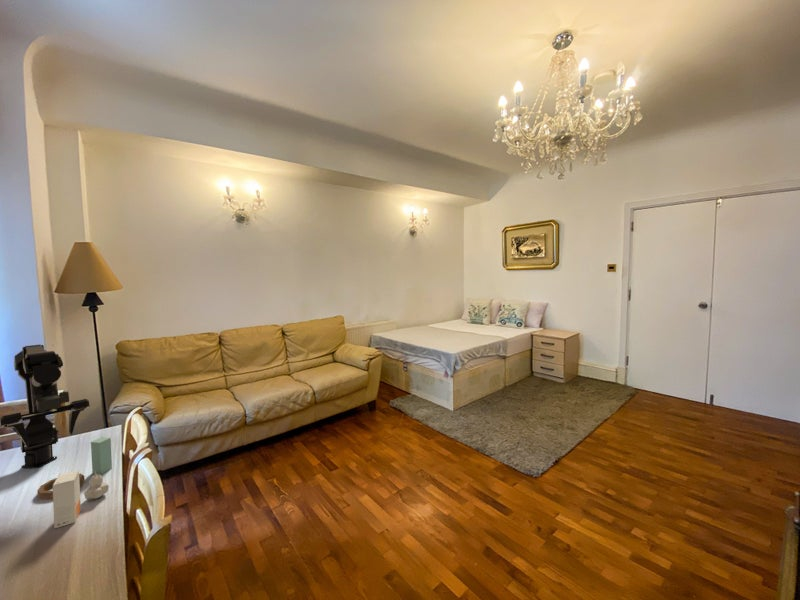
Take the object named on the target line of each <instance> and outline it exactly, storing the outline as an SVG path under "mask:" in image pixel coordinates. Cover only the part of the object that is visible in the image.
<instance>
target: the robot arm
mask: <svg viewBox="0 0 800 600" xmlns="http://www.w3.org/2000/svg"><path fill="white" fill-rule="evenodd" d="M13 360H14V361H13V364H14V366H13V367H14V371H17V375H18V377H19V378H20V379H21V380H23V381H24V383H25V385H24V386H25V395H26V404H27V405H26V406H27V413H24V414H22V413H21V412H17V413H11V414H7V415H3V416H1V417H0V429H4V428H6V429H7V431H8V430H13V431H14V432H15V434H17V435H18V436H19V437H20V442H19V444H20V450H21V454H23V453H24V456H23V457H24V464H23V465H21V467H20V468H21V469H23V468H27V469H29V468H41V467H42V466H45V465H47V464H48V463H47V462H49V461H51V460H52V461H54V460H56V459H58V456H56V455H55V456H54V453H53V445H56V444H57V443H58V442H59V430H58V429H57V428H56V427H54V424H53V422H51V421H50V420H49V419H48V418H47V416H51V415H54V414H60V413H64V412H69V411H70V413H69V414H68V421H69V422H68V425H69V426H68V433H69V436H72V435H73V433H74V429H75V425H76V422H77V419H78V417H79V415H80V414H81V413H83V412H84V411H85V410H87V409H88V408H90V400H89V399H87V398H83V399H79V400H74V401H71V402H70V395H69V394H70V393H69V391H68V390H67V391H63V392H62V391H61V392H59V389H58V381H59V380H60V378H61V377H62V370H60V369H61V368H62V367H63V366H64V363H63V359H62V357H61V356H60V355H59V353H56V351H54V350H49V351H48V350H46V349H45V346H44V345H43V344H34V345H25V346H22V350H21V351H20V352H18V353H17V354H15V355H14V357H13ZM69 402H70V403H69ZM66 403H69V404H66ZM62 404H66V405H63V406H62ZM24 421H28V422H27V424H26V425H25V423H24ZM54 457H55V458H56V459H55V458H54ZM53 459H54V460H53ZM52 461H51V462H52ZM46 463H47V464H46ZM49 463H50V462H49ZM44 464H45V465H44Z"/></svg>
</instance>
